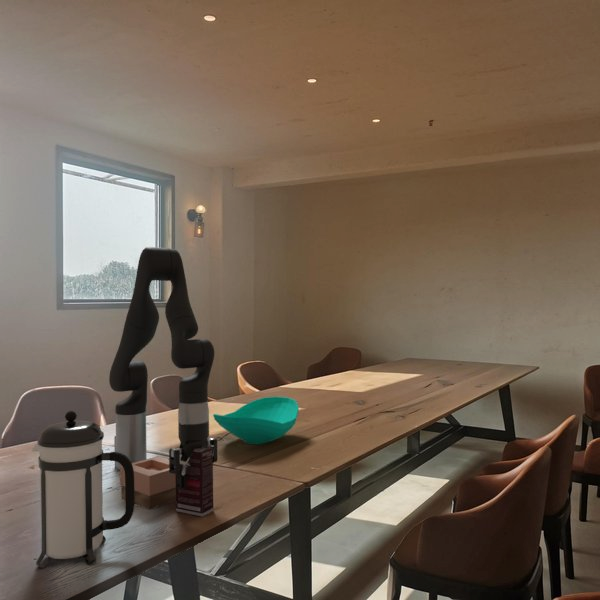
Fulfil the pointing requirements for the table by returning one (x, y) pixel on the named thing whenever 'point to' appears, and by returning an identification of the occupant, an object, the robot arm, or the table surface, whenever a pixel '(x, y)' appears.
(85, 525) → the coffee press
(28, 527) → the table surface
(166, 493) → the tower bottom
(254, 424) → the table top decor
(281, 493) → the table surface
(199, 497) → the supplement box
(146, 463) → the tower top
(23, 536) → the table surface
